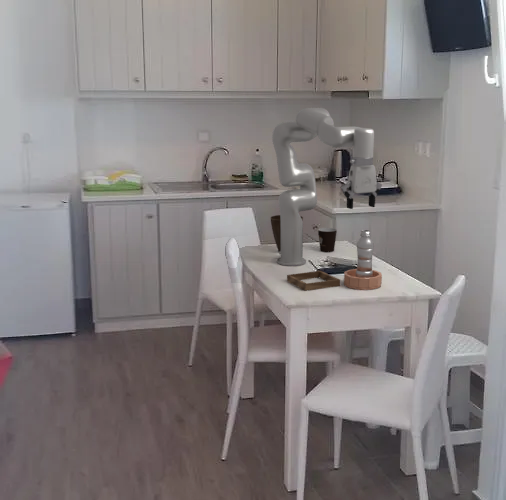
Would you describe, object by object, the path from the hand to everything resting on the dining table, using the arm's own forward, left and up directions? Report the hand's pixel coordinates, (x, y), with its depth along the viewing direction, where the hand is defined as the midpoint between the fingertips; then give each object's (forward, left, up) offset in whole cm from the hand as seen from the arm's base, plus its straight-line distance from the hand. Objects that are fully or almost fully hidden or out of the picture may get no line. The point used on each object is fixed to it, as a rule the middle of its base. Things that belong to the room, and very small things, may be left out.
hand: (360, 207), depth 263 cm
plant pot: (-61, +1, -30) cm, 68 cm away
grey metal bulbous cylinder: (+2, +1, -29) cm, 29 cm away
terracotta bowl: (+2, +1, -30) cm, 30 cm away
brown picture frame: (-8, -15, -30) cm, 35 cm away
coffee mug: (-55, +19, -30) cm, 65 cm away
